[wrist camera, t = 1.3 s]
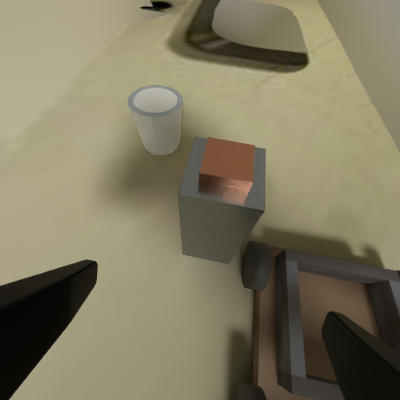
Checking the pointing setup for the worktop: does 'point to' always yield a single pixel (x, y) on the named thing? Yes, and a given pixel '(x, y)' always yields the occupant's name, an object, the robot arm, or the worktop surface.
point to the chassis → (310, 318)
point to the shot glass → (157, 118)
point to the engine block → (220, 197)
